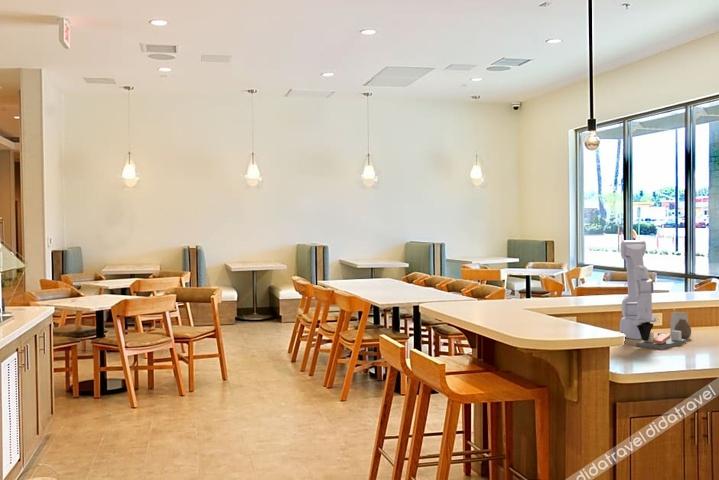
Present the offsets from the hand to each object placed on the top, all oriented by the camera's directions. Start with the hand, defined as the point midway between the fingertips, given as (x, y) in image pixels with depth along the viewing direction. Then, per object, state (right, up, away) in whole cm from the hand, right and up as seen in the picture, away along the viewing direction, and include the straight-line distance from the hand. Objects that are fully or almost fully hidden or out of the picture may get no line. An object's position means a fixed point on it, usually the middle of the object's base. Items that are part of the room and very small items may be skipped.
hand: (645, 340), depth 298 cm
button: (+11, 0, +10) cm, 15 cm away
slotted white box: (+14, 0, +3) cm, 15 cm away
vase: (+22, -2, +14) cm, 27 cm away
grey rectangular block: (+26, -1, +26) cm, 37 cm away
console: (+8, -2, +2) cm, 8 cm away
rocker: (+6, +1, -3) cm, 7 cm away
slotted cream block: (+2, -1, +2) cm, 3 cm away
